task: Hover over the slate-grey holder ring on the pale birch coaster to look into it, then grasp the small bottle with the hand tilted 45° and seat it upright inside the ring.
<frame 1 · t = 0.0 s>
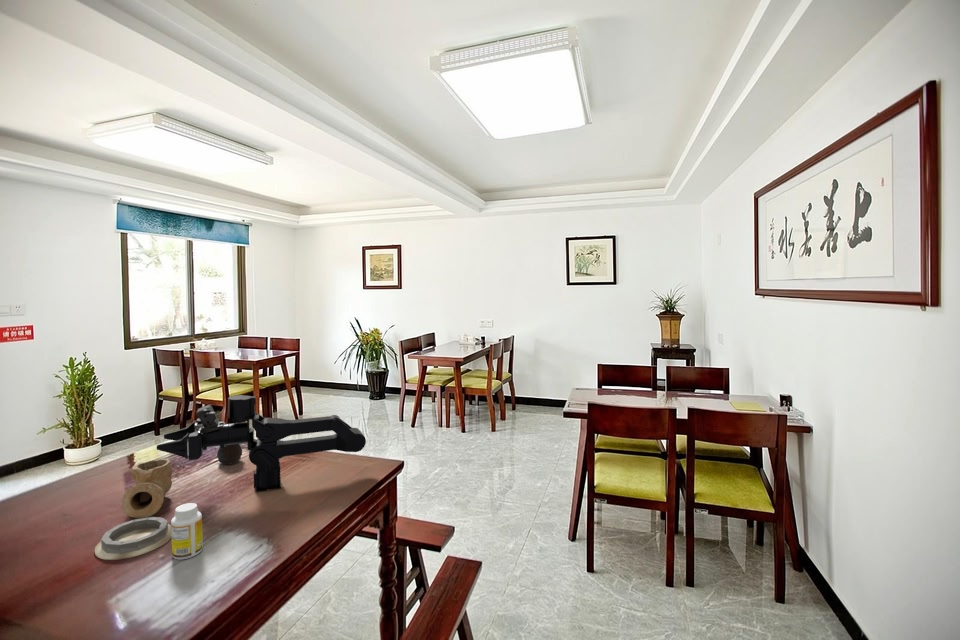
hand: (160, 441, 116), 17 cm above the table, tool horizontal, fingers open, 9 cm apart
holder ring: (136, 541, 100), on the table
mate gourd: (230, 462, 146), on the table
pipe: (149, 506, 116), on the table
supplement bottle: (187, 554, 95), on the table
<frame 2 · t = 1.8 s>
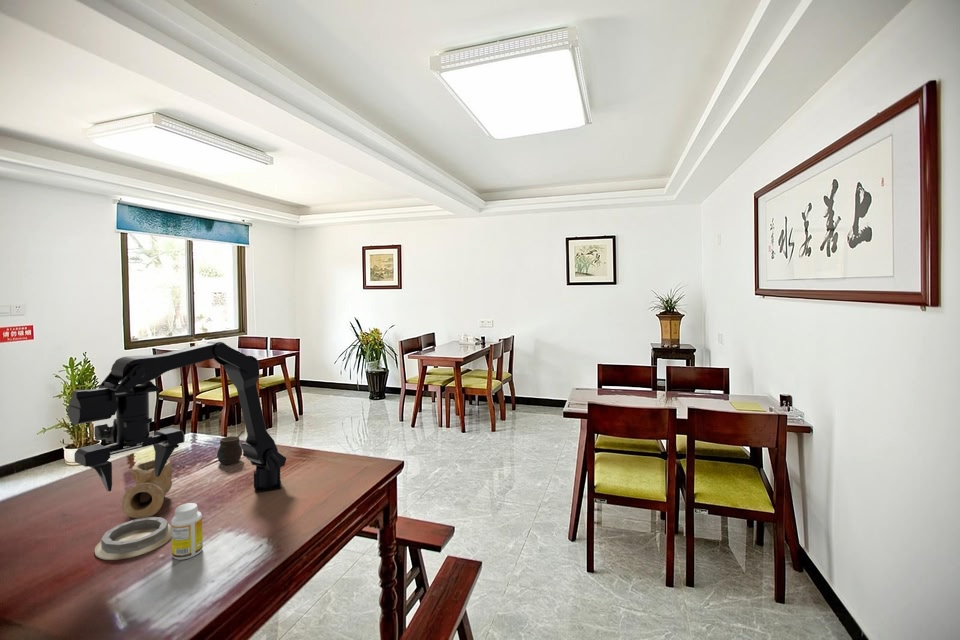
hand: (134, 483, 99), 13 cm above the table, tool pointing down, fingers open, 9 cm apart
nothing on the table moved.
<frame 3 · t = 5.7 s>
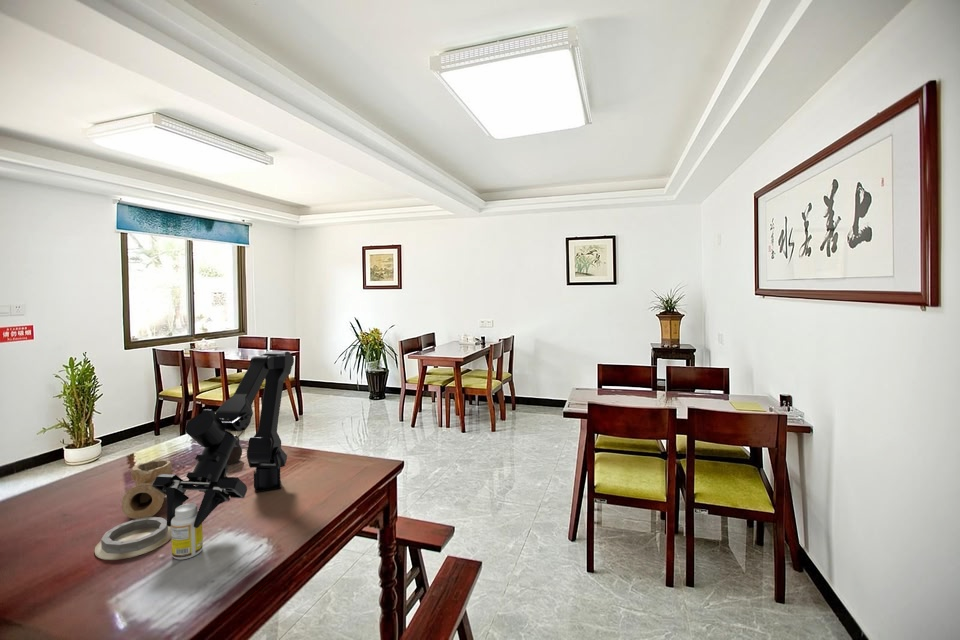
hand: (182, 526, 94), 7 cm above the table, tool tilted 45°, fingers closed on supplement bottle, 5 cm apart
supplement bottle: (187, 554, 95), on the table, touching gripper
everything else where it was.
when the fingers open (9 cm above the table, at t = 9.1 s): supplement bottle drops 2 cm, resting on holder ring.
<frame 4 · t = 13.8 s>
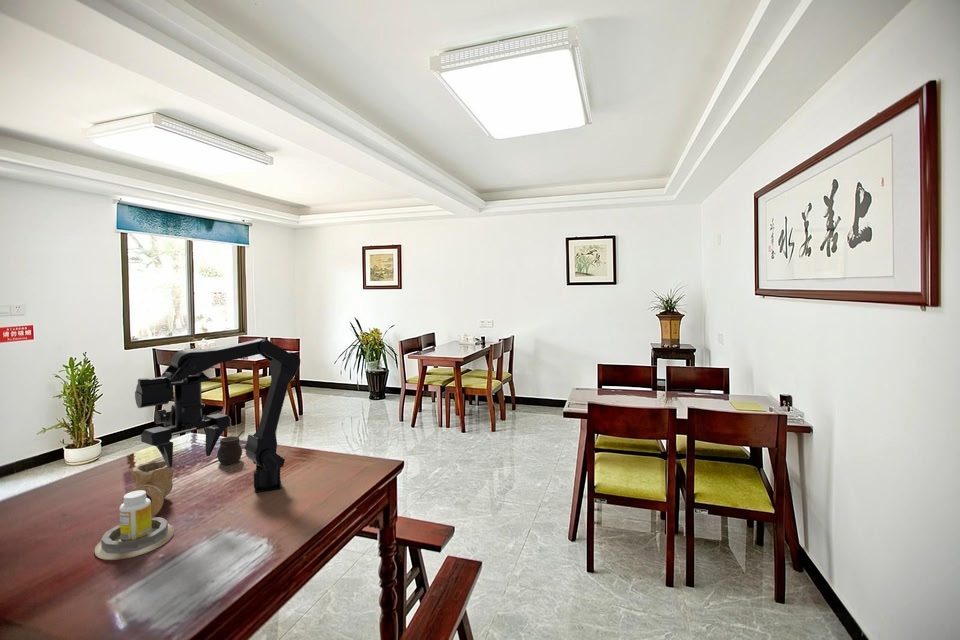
hand: (189, 461, 113), 13 cm above the table, tool pointing down, fingers open, 9 cm apart
supplement bottle: (136, 539, 100), resting on holder ring
at the end: supplement bottle 0.2 cm from the holder ring (horizontally); supplement bottle tilted 0° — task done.
